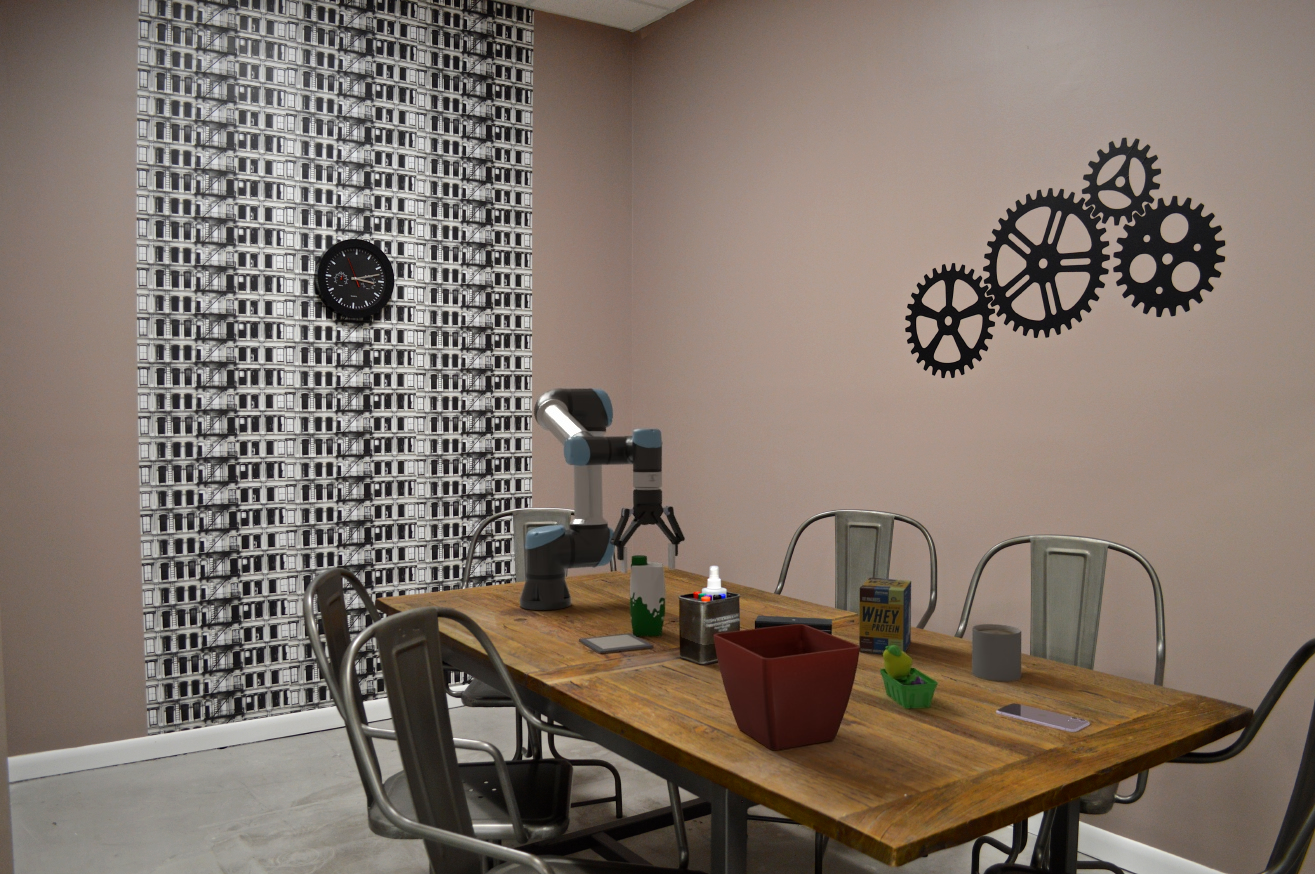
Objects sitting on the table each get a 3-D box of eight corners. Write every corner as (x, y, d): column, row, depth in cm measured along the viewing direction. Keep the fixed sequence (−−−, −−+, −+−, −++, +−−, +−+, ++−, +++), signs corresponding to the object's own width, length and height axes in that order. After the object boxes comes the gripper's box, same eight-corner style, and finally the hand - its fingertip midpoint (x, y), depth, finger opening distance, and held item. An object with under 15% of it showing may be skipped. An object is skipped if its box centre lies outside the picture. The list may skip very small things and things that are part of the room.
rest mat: (578, 641, 230) (578, 638, 230) (630, 635, 236) (630, 632, 236) (599, 653, 217) (599, 650, 217) (653, 647, 224) (653, 644, 224)
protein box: (858, 652, 219) (858, 587, 219) (869, 638, 233) (869, 577, 233) (903, 656, 215) (904, 590, 215) (911, 641, 229) (912, 579, 229)
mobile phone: (1013, 701, 179) (1092, 719, 168) (1013, 706, 179) (1092, 725, 168) (993, 709, 174) (1073, 729, 162) (993, 714, 174) (1073, 734, 162)
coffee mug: (997, 683, 193) (997, 636, 192) (962, 672, 202) (962, 626, 201) (1043, 675, 199) (1043, 629, 198) (1006, 664, 207) (1007, 620, 207)
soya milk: (631, 629, 243) (630, 553, 242) (665, 629, 243) (665, 553, 242) (629, 637, 234) (629, 558, 234) (665, 637, 234) (664, 558, 233)
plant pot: (764, 761, 149) (765, 657, 149) (711, 725, 166) (711, 632, 166) (863, 744, 157) (863, 645, 156) (801, 712, 174) (802, 623, 174)
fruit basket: (939, 709, 176) (940, 650, 176) (895, 711, 174) (896, 652, 174) (913, 691, 187) (913, 636, 187) (872, 694, 186) (872, 638, 185)
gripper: (608, 490, 229) (609, 576, 229) (697, 487, 240) (697, 569, 240) (597, 489, 236) (597, 572, 236) (683, 486, 246) (684, 565, 247)
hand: (648, 570), depth 238 cm, fingers open, 13 cm apart
